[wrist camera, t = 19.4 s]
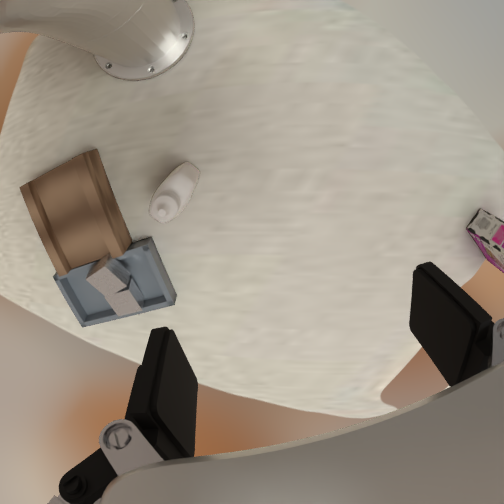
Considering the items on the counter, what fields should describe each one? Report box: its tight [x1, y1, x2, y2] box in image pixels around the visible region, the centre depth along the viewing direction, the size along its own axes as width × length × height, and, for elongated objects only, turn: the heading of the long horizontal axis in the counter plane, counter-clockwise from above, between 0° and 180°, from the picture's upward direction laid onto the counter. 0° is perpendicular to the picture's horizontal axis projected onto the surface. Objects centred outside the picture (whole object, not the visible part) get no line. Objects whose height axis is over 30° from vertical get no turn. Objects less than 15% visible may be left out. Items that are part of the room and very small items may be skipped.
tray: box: [53, 237, 177, 327], centre depth 40 cm, size 9×16×2 cm, turn 105°
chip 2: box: [104, 277, 145, 317], centre depth 40 cm, size 4×4×2 cm
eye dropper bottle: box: [149, 162, 200, 223], centre depth 31 cm, size 4×6×12 cm
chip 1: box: [85, 253, 130, 298], centre depth 37 cm, size 4×4×2 cm
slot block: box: [20, 149, 132, 277], centre depth 35 cm, size 13×10×4 cm
